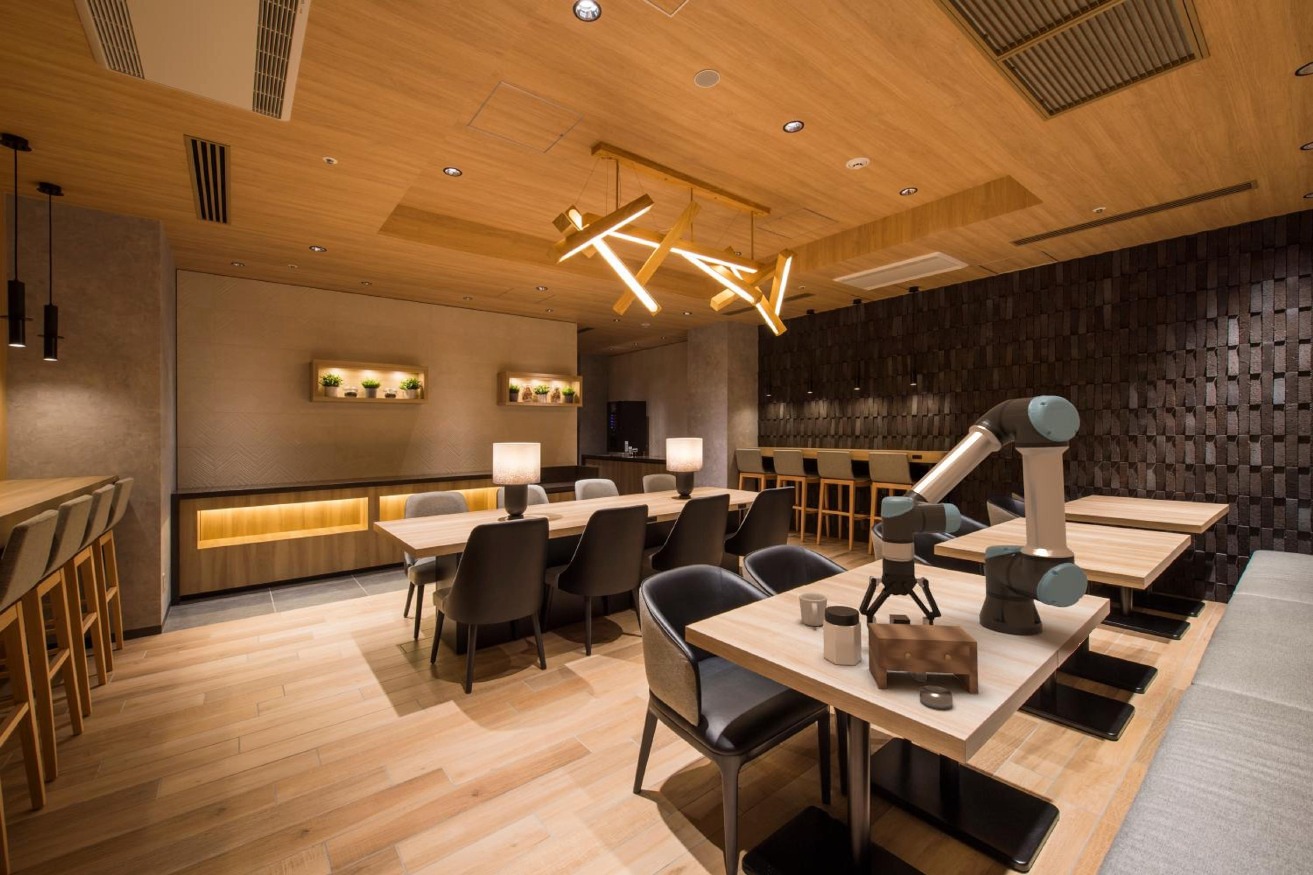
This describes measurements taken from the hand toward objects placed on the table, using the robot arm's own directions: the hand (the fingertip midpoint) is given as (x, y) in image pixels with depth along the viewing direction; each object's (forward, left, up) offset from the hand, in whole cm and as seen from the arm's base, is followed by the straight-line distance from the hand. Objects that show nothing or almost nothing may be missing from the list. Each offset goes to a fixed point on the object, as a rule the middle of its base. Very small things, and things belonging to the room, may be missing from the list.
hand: (899, 643), depth 141 cm
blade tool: (0, +7, -2) cm, 8 cm away
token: (0, +28, -3) cm, 28 cm away
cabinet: (0, +17, -2) cm, 17 cm away
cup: (+19, -19, -3) cm, 27 cm away
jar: (+15, +6, -3) cm, 16 cm away
